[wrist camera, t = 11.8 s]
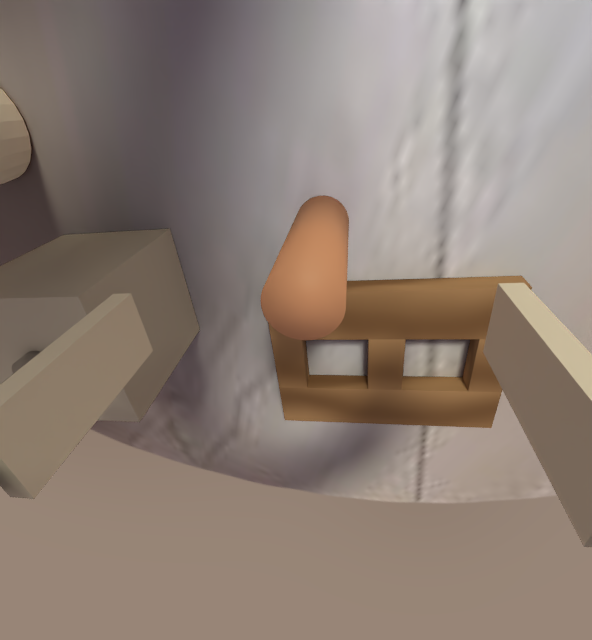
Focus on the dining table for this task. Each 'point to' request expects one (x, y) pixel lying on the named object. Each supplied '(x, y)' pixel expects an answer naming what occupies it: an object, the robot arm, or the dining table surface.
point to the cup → (12, 141)
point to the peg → (310, 273)
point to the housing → (89, 292)
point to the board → (399, 356)
